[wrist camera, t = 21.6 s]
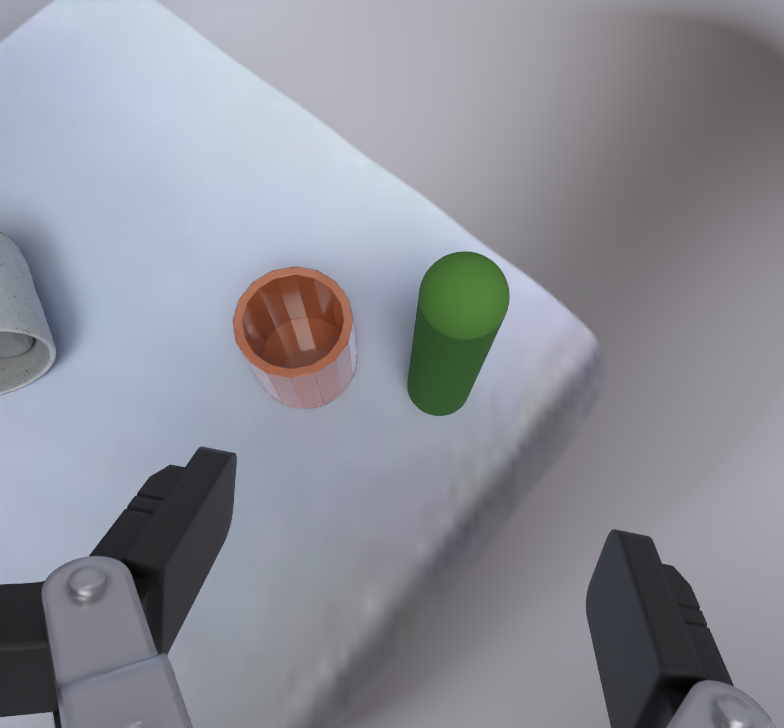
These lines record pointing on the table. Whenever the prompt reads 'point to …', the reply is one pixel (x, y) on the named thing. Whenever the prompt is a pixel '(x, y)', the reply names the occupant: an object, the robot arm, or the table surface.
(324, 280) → the cup
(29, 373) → the ceramic mug
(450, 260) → the cucumber
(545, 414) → the table surface
